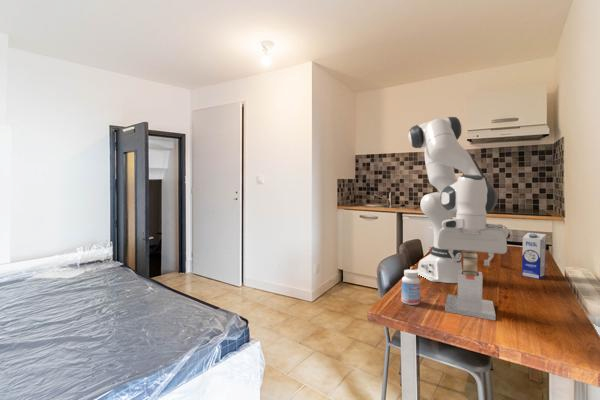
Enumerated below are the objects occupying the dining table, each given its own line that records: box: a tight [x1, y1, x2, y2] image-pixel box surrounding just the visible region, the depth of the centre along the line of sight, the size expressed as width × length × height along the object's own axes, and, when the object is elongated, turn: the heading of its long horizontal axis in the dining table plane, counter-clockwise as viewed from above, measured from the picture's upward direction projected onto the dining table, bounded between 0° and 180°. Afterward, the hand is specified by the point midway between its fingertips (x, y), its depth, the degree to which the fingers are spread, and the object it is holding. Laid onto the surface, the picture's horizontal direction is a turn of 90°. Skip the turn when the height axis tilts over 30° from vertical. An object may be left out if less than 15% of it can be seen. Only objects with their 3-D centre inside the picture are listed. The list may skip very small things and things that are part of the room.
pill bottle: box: [400, 269, 421, 306], centre depth 107 cm, size 6×6×11 cm
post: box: [462, 250, 479, 276], centre depth 101 cm, size 4×4×17 cm
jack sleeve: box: [444, 269, 496, 321], centre depth 101 cm, size 14×14×12 cm
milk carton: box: [521, 232, 547, 280], centre depth 139 cm, size 7×7×20 cm
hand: (470, 263), depth 101 cm, fingers open, 8 cm apart
